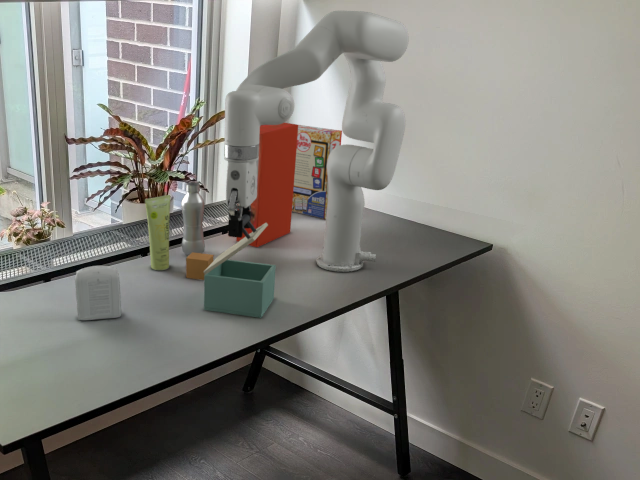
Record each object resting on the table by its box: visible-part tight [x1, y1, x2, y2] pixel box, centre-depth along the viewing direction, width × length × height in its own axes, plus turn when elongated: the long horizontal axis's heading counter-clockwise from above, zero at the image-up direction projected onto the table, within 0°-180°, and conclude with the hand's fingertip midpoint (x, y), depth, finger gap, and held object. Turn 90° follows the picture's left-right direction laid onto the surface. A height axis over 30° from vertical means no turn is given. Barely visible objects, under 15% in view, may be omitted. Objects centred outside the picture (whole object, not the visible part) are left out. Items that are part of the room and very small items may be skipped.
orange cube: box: [185, 252, 215, 281], centre depth 191 cm, size 6×5×6 cm
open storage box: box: [203, 259, 277, 319], centre depth 174 cm, size 14×12×9 cm
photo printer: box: [74, 265, 122, 321], centre depth 167 cm, size 10×4×12 cm, turn 103°
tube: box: [144, 194, 171, 271], centre depth 193 cm, size 6×5×20 cm
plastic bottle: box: [180, 182, 206, 256], centre depth 202 cm, size 6×7×20 cm
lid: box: [204, 214, 268, 275], centre depth 169 cm, size 15×12×5 cm
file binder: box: [235, 122, 299, 248], centre depth 212 cm, size 8×17×32 cm, turn 140°
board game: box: [292, 124, 343, 220], centre depth 236 cm, size 20×6×27 cm, turn 46°
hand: (239, 231), depth 168 cm, fingers closed on lid, 6 cm apart
